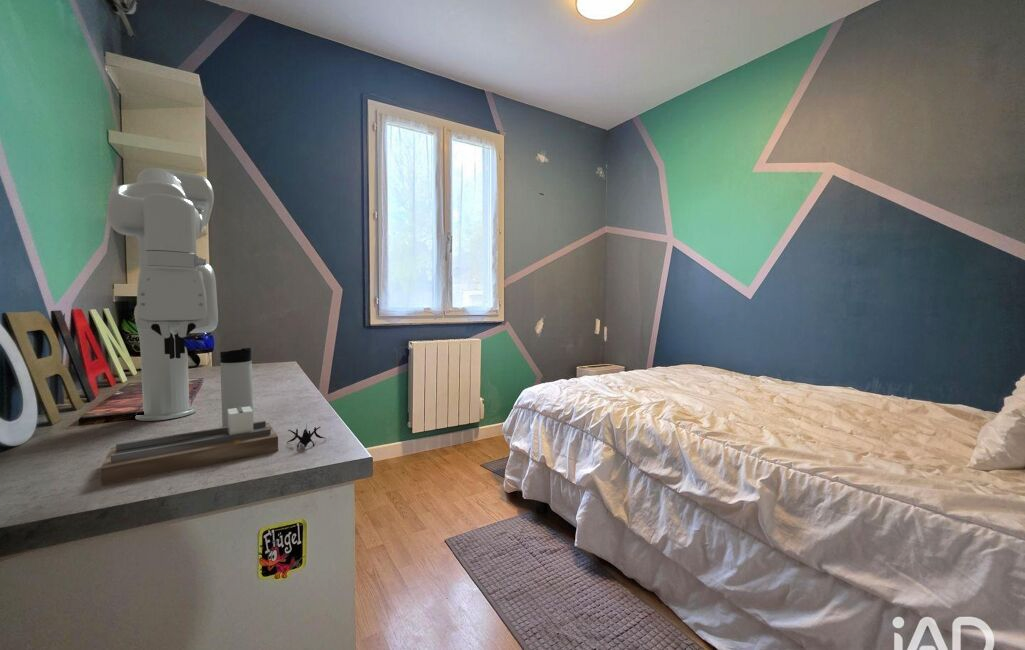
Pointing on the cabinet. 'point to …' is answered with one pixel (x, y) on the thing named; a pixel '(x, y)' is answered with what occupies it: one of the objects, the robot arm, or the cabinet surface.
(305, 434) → the creature
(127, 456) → the fader console
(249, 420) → the fader tab
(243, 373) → the travel mug
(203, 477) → the cabinet surface
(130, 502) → the cabinet surface
